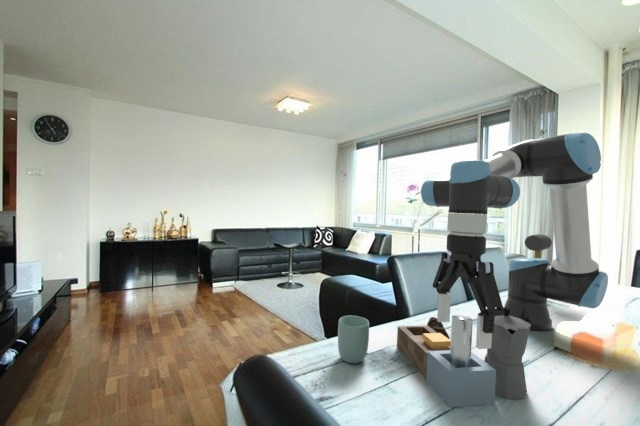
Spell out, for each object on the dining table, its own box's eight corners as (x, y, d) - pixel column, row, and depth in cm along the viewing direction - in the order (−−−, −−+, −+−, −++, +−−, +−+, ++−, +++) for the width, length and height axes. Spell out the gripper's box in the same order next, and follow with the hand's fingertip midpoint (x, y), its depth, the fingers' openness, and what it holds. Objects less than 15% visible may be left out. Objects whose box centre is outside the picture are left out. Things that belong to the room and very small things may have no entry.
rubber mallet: (538, 303, 135) (542, 235, 134) (520, 299, 141) (523, 233, 140) (550, 299, 142) (553, 234, 141) (531, 295, 148) (535, 233, 147)
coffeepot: (536, 411, 61) (540, 320, 60) (482, 398, 64) (486, 312, 64) (517, 373, 75) (521, 299, 75) (474, 364, 79) (478, 294, 78)
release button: (439, 359, 78) (440, 332, 78) (450, 369, 73) (451, 341, 73) (421, 360, 77) (422, 333, 77) (431, 370, 72) (433, 341, 72)
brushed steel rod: (444, 387, 68) (448, 315, 68) (461, 386, 69) (464, 314, 68) (455, 398, 64) (459, 321, 64) (473, 397, 65) (476, 321, 64)
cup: (333, 363, 76) (334, 323, 76) (341, 350, 84) (343, 313, 83) (364, 370, 74) (365, 328, 73) (370, 356, 81) (372, 318, 81)
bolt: (435, 332, 103) (441, 351, 88) (422, 323, 104) (425, 340, 90) (445, 318, 102) (453, 334, 88) (431, 309, 103) (436, 324, 89)
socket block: (426, 346, 88) (427, 325, 88) (461, 376, 72) (462, 351, 72) (396, 347, 87) (397, 326, 86) (425, 379, 71) (427, 353, 71)
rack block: (466, 379, 72) (467, 349, 71) (494, 403, 63) (496, 369, 62) (426, 381, 70) (427, 351, 70) (449, 407, 61) (451, 372, 61)
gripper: (531, 241, 54) (525, 361, 54) (448, 229, 78) (444, 312, 79) (493, 240, 53) (487, 363, 53) (420, 229, 77) (416, 313, 78)
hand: (461, 333), depth 66 cm, fingers open, 13 cm apart
